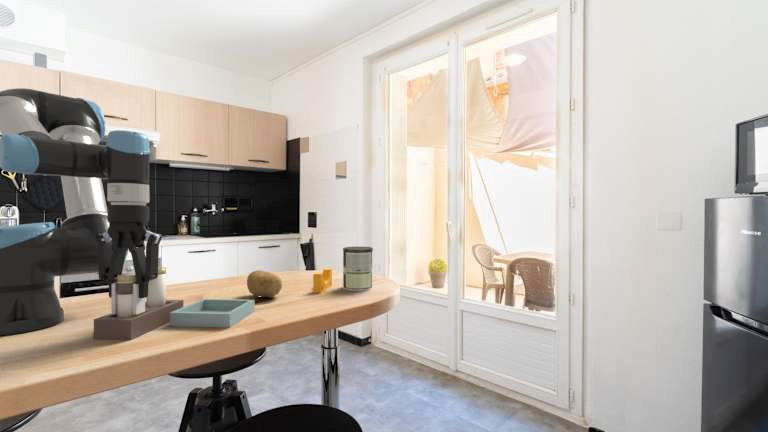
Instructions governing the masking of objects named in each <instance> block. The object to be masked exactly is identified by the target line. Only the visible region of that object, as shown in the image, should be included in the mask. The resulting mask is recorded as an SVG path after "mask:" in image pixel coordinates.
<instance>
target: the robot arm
mask: <svg viewBox="0 0 768 432" xmlns="http://www.w3.org/2000/svg"><path fill="white" fill-rule="evenodd" d="M105 124H106V119H105V115H104V112H103V109H102V108H101V107H100V105H98V103H96V102H94V101H91V100H87V99H84V98H82V97H81V98H80V97H70V96H66V95H60V94H56V93H51V92H47V91H41V90H37V89H32V88H22V87H21V88H11V89H5V90H0V134H1V137H0V169H1V170H2V171H4V172H6V173H13V174H15V173H17V174H22V175H37V176H38V175H42V176H58V177H60V179H61V186H62V192H63V200H64V205H65V212H66V217H67V218H66V219H64V220H63V221H62V222H61V224H60V227H56V225H55V223H54V222H52V221H48V222H47V221H46V222H32V223H24V224H15V225H8V226H7V225H6V226H0V336H5V335H8V336H9V335H14V334H21V333H27V332H33V331H38V330H42V329H46V328H49V327H53V326H56V325H58V324H61V323H62V322H64V320H65V311H64V309H63V307H61V303H60V300H59V297H58V294H57V293H56V289H55V277H63V276H73V275H83V274H84V275H85V274H94V273H95V274H96V273H98V279H99V280H101V281H104V282H107V283H108V296H109V297H108V298H110V299H111V313H112V314H117V275H119V274H123V269H124V266H125V262H126V260H127V257H128V254H129V253H130V254H131V260H132V263H133V270H134V273H135V275H136V280H137V281H136V282H134V283H135V284H133V315H137V314H140V313H143V312H145V302H146V297H148V283H149V281H151V280H153V279H156V278H157V277H158V267H159V257H160V256H159V255H160V253H159V251H160V250H159V249H160V243H161V240H162V239H163V238H162V237H163V236H162V234H161V233H155V232H152V231H151V230H150V228H149V226H148V225H149V224H148V223H149V221H150V207H149V206H148V205H147V204H149V203H150V154H151V148H150V139H149V137H148V136H147V135H146V134H145V133H141V132H138V131H131V130H122V129H121V130H120V129H119V130H116V129H115V130H110V131H109V132H108V134H107V139H106V143H105V145H104V144H103V145H101V144H100V141H102V140H103V139H104V137H105V135H106V130H107V129H106V125H105ZM102 180H103V181H106V183H107V184H106V185H107V186H106V187H107V188H106V189H107V190H106V191H107V192H106V193H107V200H106V197H105V192H104V191H105V190H104V185H103V182H102ZM106 201H107V202H108V203H110V204H109V205H108V206H107V202H106ZM145 242H146V245H145Z"/></svg>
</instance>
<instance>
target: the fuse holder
mask: <svg viewBox="0 0 768 432" xmlns="http://www.w3.org/2000/svg"><path fill="white" fill-rule="evenodd" d="M182 307H184V299H166V305H164V306H161V307H146V301H145V312H143V313H140V315H137V316H135V317H132V318H123V317H117V314H112V312H110V313H107V314H105V315H103V316H100V317H97V318H94V319H93V339H94V340H122V341H124V340H126V341H132V340H134V339H136V338H139V337H141V336H143V335H145V334H147V333H149V332H152V331H154V330H155V329H156V330H157V329H159V328H160V327H162V326H164V325H166V324H170V312H173V311H175V310H178V309H180V308H182Z"/></svg>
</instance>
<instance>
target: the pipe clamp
mask: <svg viewBox="0 0 768 432" xmlns="http://www.w3.org/2000/svg"><path fill="white" fill-rule="evenodd" d="M332 272H333V268H323V269H322V272H319V273H318V272H315V273H313V275H312V277H313V278H312V283H313V284H312V285H313V288H312V292H313V294H314V293H315V294H322V293H323V292H325V291H326V290H328V289H329V288H331V287H332V285H333V281H332V280H333V278H332V277H333V276H332V275H333V273H332Z"/></svg>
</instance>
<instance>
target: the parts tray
mask: <svg viewBox="0 0 768 432" xmlns="http://www.w3.org/2000/svg"><path fill="white" fill-rule="evenodd" d="M255 303H256V302H255V299H235V298H234V299H233V298H232V299H231V298H230V299H229V298H228V299H226V298H223V299H222V298H220V299H219V298H202V299H200V300H197V301H195V302H192V303H190V304H188V305H185V306H183V307H182V308H180V309H178V310H175V311H173V312H170V322H169V327H187V328H190V327H191V328H192V327H193V328H221V329H222V328H223V329H224V328H225V329H229V328H231V327H233V326H235V325H236V324H238V323H239V322H241V321H243V320H244V319H246V318H247V317H248V316H250V315H252V314H253V313H255V312H256V311H255V310H256V309H255V308H256V307H255V305H256V304H255Z"/></svg>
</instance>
